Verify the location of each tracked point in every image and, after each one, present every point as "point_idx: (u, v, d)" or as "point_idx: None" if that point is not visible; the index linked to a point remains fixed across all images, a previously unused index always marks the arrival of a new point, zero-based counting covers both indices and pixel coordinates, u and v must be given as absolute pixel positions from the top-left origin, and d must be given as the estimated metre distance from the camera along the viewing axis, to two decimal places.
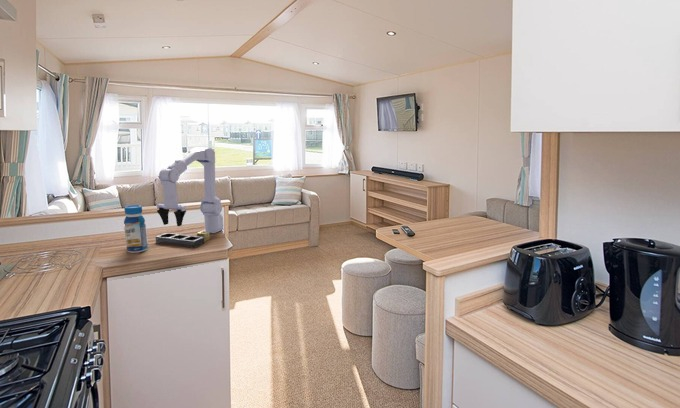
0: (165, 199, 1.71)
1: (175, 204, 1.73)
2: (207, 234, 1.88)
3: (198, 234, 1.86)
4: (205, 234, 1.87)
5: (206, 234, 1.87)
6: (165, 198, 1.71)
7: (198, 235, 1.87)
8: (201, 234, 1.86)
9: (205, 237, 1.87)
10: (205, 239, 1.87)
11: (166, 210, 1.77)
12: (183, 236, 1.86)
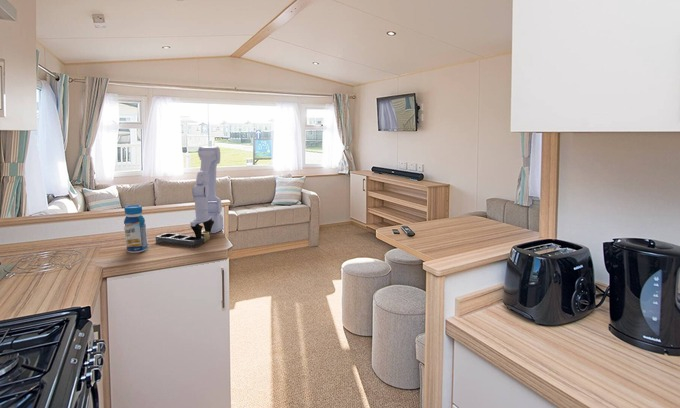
0: None
1: (197, 218, 1.84)
2: (207, 234, 1.88)
3: None
4: (205, 234, 1.87)
5: (206, 234, 1.87)
6: None
7: None
8: (201, 234, 1.86)
9: (205, 237, 1.87)
10: (205, 239, 1.87)
11: (208, 223, 1.90)
12: (183, 236, 1.86)
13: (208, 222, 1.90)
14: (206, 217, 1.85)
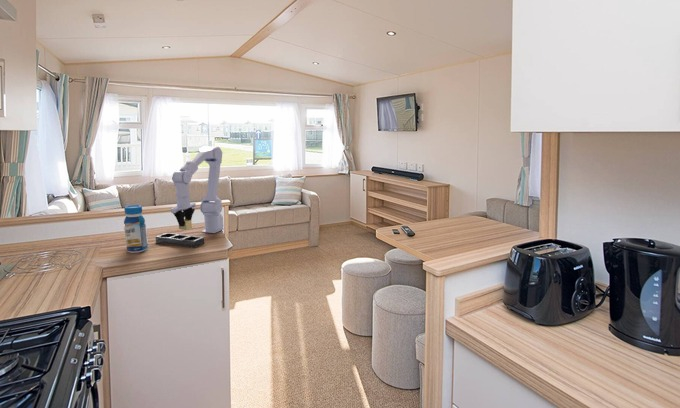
0: None
1: (178, 205, 1.78)
2: (189, 222, 1.83)
3: None
4: (187, 222, 1.81)
5: (188, 222, 1.82)
6: None
7: None
8: None
9: (187, 225, 1.81)
10: (187, 227, 1.81)
11: (188, 211, 1.83)
12: (183, 236, 1.86)
13: (188, 210, 1.83)
14: (187, 204, 1.80)
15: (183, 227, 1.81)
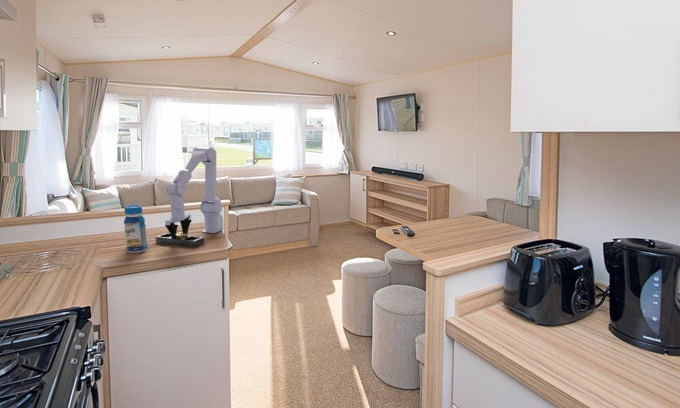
0: None
1: (173, 217, 1.78)
2: (184, 236, 1.83)
3: None
4: (181, 236, 1.81)
5: (183, 236, 1.82)
6: None
7: None
8: (177, 236, 1.81)
9: None
10: None
11: (185, 221, 1.85)
12: None
13: (185, 221, 1.85)
14: (182, 216, 1.80)
15: None
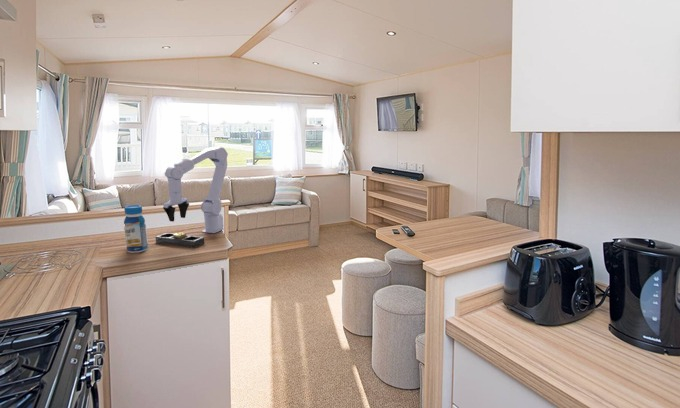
0: None
1: (171, 200, 1.83)
2: (184, 236, 1.83)
3: (174, 236, 1.81)
4: (181, 236, 1.81)
5: (183, 236, 1.82)
6: None
7: (174, 237, 1.81)
8: (177, 236, 1.81)
9: None
10: None
11: (183, 205, 1.90)
12: None
13: (183, 204, 1.90)
14: (180, 199, 1.84)
15: None
